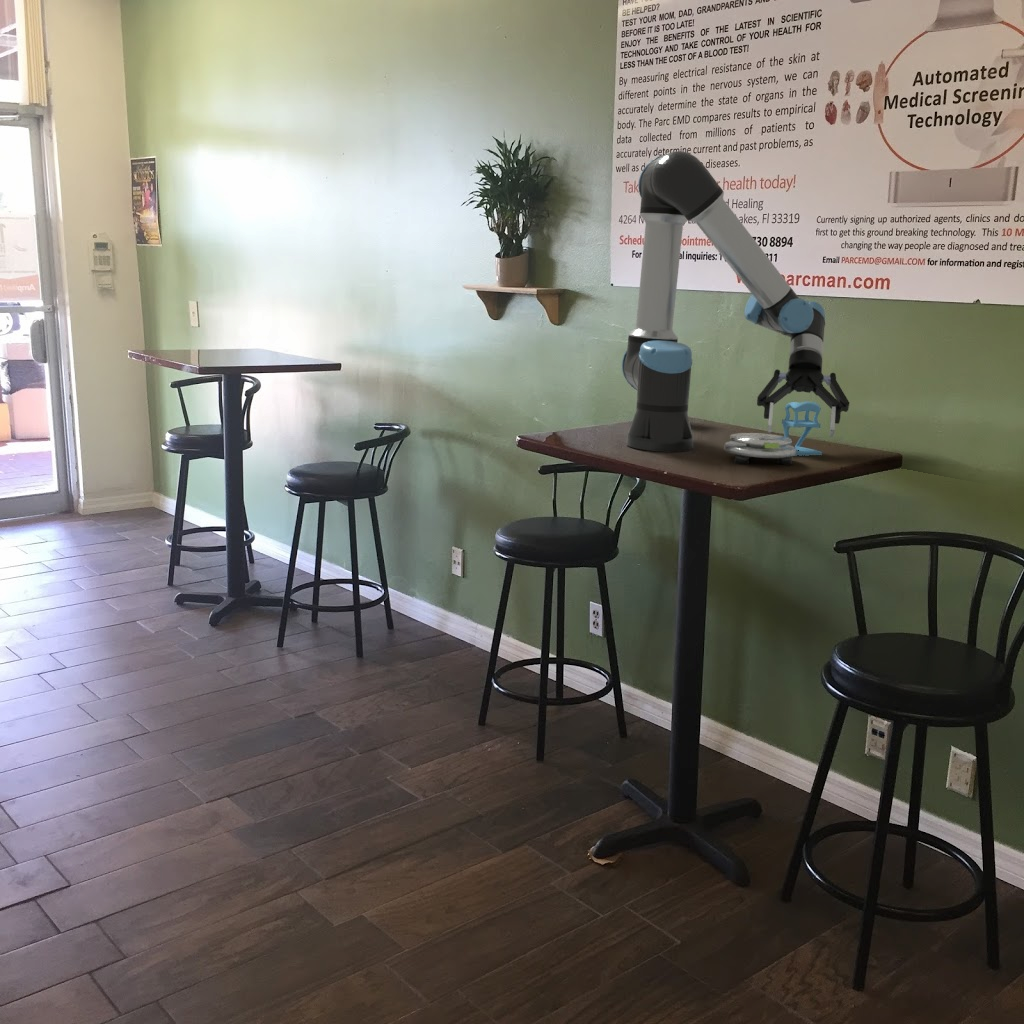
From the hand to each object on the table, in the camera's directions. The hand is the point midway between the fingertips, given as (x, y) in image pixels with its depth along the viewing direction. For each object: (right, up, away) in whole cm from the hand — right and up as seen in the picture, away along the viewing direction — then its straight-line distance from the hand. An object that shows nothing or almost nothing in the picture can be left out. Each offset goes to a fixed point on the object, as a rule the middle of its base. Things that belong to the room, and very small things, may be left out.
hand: (800, 431), depth 238 cm
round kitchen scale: (-11, -7, -9) cm, 16 cm away
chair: (0, -5, +3) cm, 6 cm away
